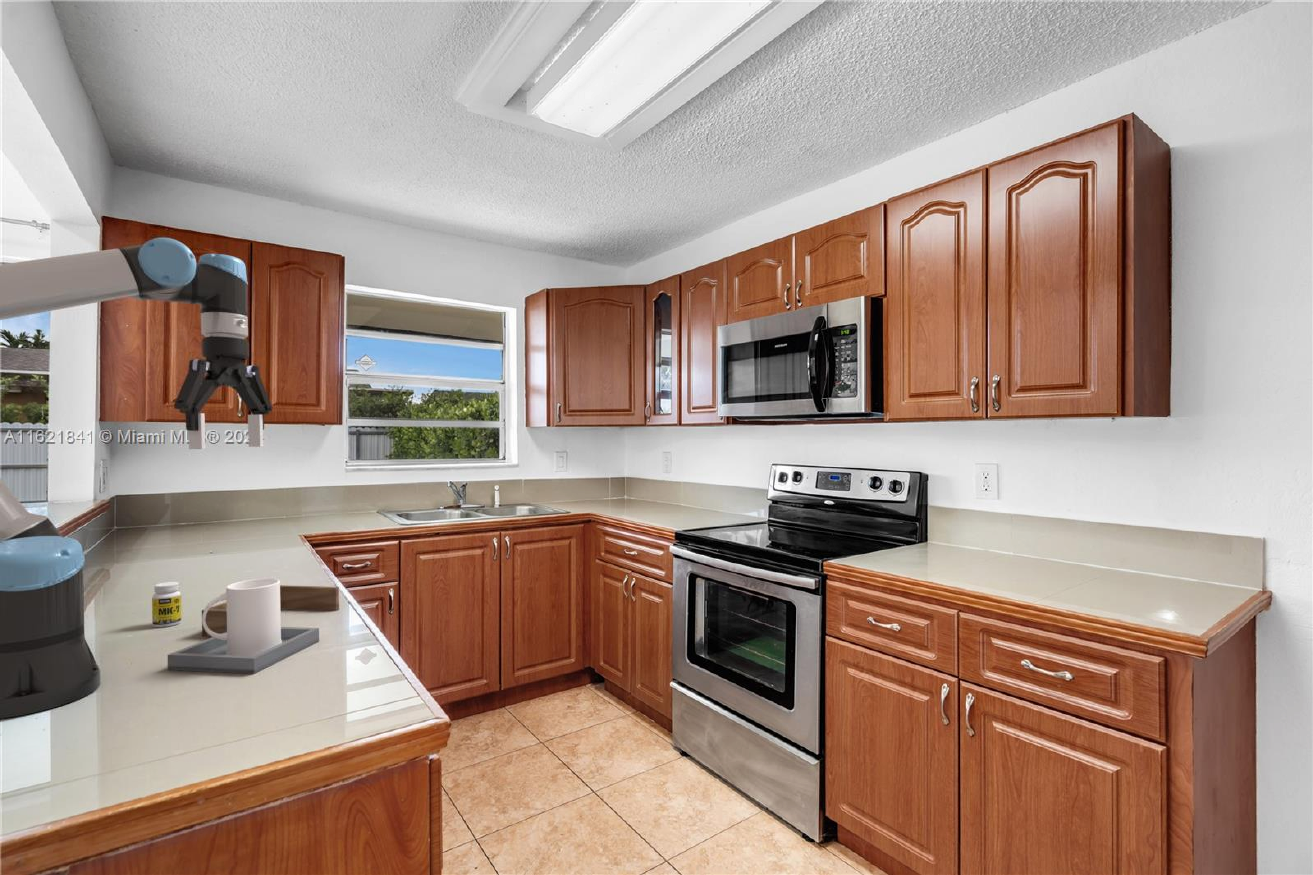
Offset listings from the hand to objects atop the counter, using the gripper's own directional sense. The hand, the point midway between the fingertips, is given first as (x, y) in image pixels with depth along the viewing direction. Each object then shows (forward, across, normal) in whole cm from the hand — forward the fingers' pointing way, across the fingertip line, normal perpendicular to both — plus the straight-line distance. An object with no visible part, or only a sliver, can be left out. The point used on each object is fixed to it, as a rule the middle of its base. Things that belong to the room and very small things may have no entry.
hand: (228, 448), depth 123 cm
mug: (+36, -9, -11) cm, 39 cm away
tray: (+37, -9, -11) cm, 39 cm away
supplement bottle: (+37, +5, +20) cm, 42 cm away
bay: (+37, +10, -2) cm, 38 cm away
